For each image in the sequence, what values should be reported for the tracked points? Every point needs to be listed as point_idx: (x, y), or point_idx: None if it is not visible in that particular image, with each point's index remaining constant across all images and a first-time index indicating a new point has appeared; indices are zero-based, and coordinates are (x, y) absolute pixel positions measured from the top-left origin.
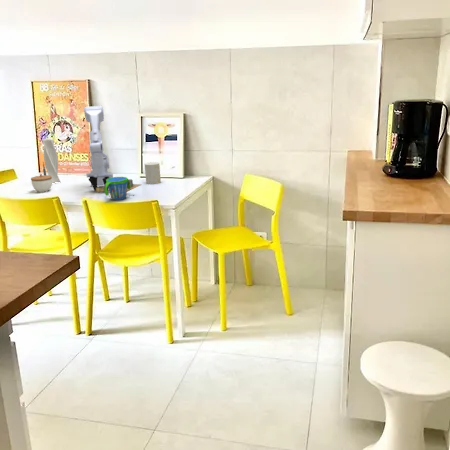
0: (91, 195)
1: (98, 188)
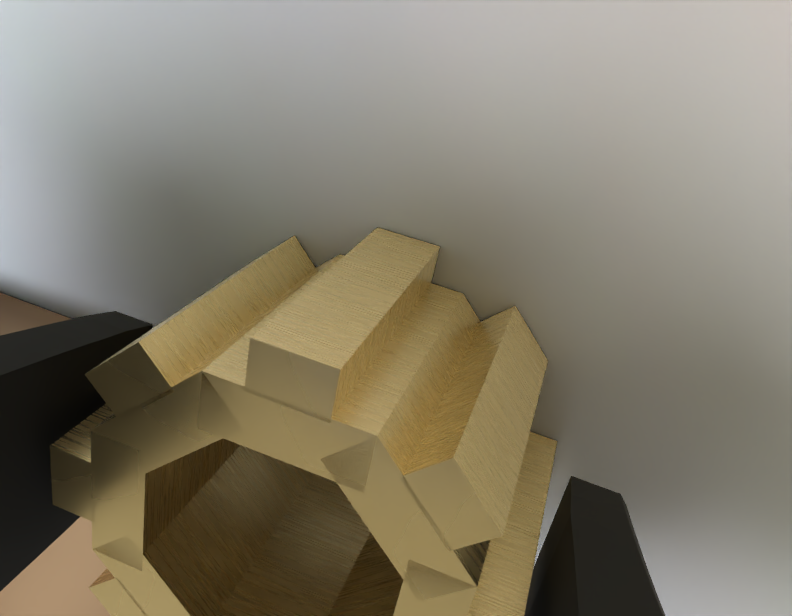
0: (717, 162)
1: (291, 345)
